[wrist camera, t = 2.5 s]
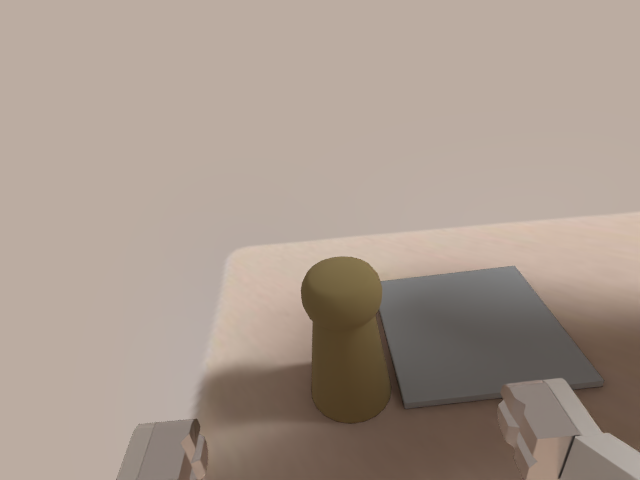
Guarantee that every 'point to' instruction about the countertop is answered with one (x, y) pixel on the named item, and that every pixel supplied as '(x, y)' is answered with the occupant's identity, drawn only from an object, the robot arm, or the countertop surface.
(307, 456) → the countertop surface
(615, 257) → the countertop surface
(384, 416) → the countertop surface
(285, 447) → the countertop surface
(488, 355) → the plate
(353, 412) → the olive chess pawn
